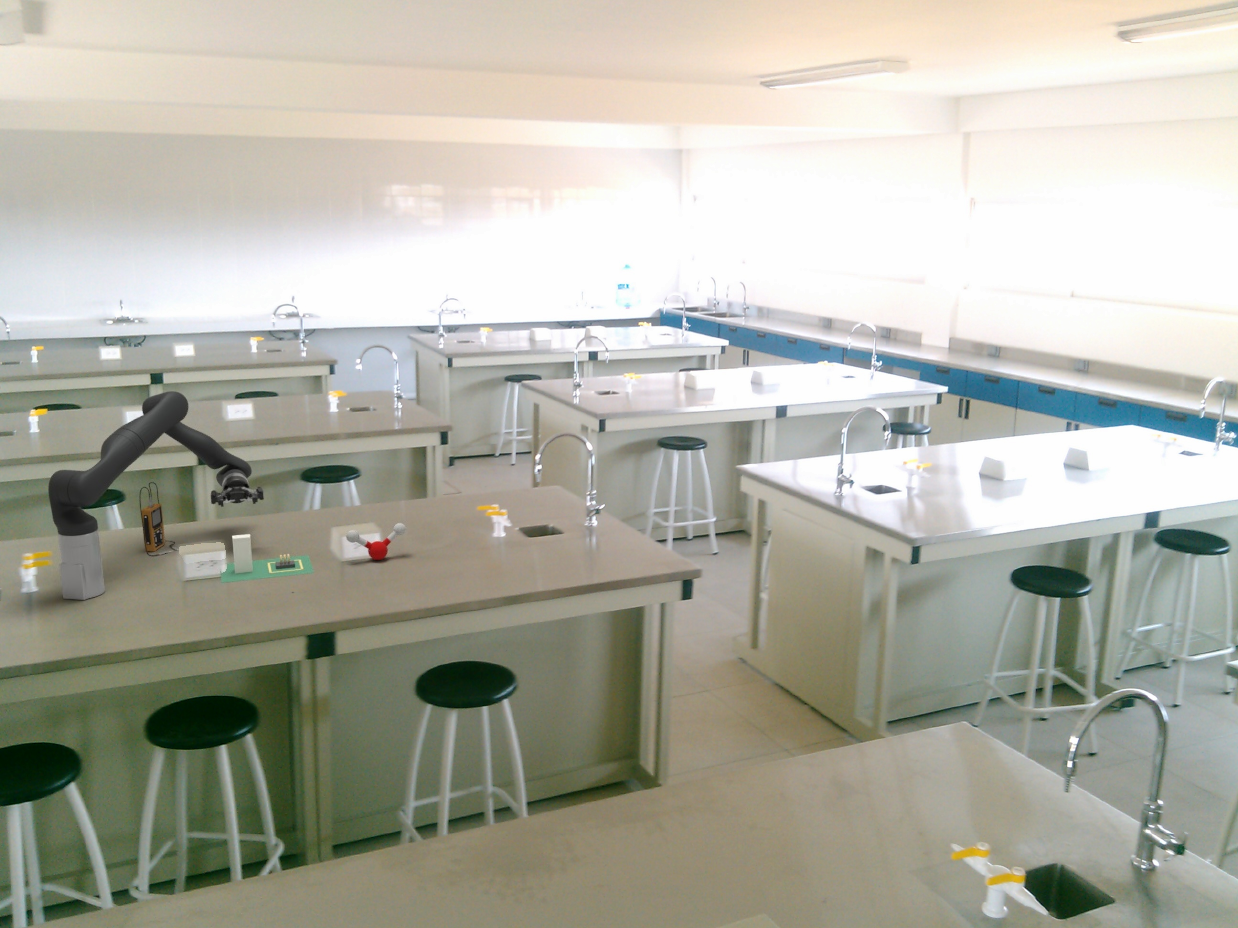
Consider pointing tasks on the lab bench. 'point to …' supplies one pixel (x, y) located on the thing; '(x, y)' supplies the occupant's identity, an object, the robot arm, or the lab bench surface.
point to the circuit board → (268, 569)
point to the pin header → (285, 563)
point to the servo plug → (242, 553)
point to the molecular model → (377, 548)
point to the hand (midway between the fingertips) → (238, 501)
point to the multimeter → (153, 525)
